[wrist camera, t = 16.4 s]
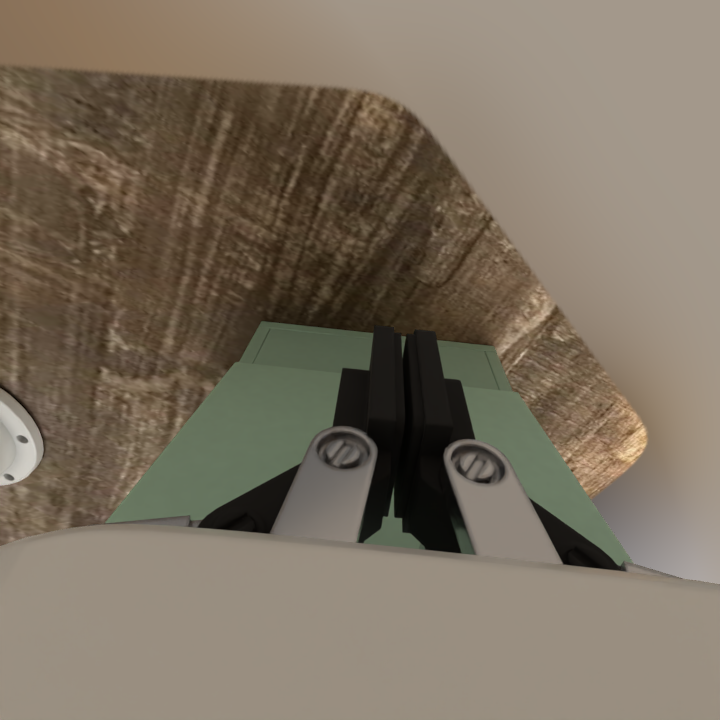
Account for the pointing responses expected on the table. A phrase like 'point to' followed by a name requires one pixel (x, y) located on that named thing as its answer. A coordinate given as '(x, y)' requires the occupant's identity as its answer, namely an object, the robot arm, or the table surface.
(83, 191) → the table surface
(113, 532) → the robot arm
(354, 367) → the box
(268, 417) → the lid
